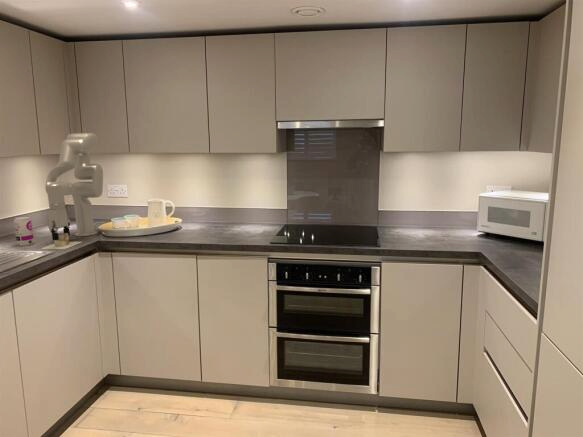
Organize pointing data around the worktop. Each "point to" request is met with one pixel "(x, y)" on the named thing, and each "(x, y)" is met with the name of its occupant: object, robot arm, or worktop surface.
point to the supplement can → (23, 231)
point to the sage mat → (61, 246)
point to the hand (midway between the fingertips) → (61, 237)
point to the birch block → (62, 239)
